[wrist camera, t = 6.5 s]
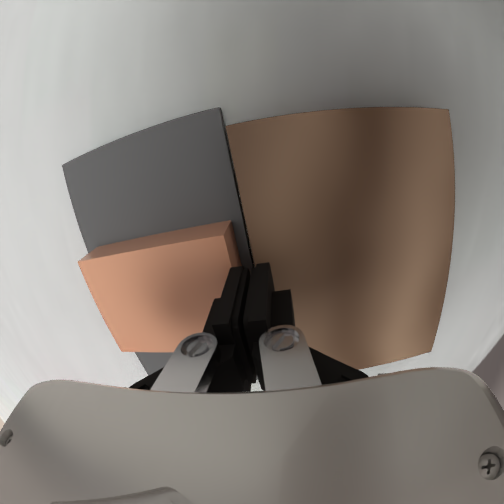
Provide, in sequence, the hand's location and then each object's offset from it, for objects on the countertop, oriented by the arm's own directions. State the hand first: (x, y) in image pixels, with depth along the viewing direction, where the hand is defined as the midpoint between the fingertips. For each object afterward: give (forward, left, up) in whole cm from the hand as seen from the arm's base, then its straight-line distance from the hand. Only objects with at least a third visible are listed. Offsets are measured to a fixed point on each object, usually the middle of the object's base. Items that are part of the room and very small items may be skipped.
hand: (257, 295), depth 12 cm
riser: (-5, 0, -2) cm, 6 cm away
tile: (+5, 0, -2) cm, 5 cm away
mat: (+5, 0, -2) cm, 6 cm away
